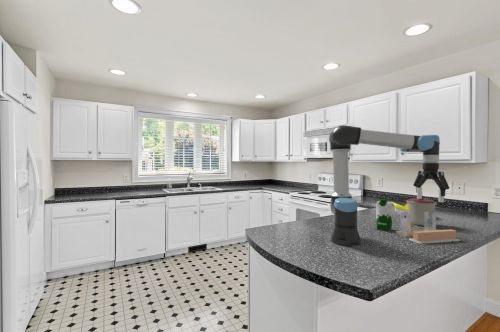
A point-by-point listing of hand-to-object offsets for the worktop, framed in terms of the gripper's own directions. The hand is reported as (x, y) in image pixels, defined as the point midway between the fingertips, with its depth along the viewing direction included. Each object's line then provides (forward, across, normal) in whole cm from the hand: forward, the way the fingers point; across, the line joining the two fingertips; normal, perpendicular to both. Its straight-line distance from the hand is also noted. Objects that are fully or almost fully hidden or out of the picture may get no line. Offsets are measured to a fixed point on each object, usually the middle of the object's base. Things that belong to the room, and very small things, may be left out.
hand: (429, 200), depth 142 cm
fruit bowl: (+22, +62, -49) cm, 82 cm away
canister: (+22, +34, -30) cm, 51 cm away
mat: (+22, -1, -3) cm, 23 cm away
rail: (+22, -1, -3) cm, 22 cm away
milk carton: (+23, +26, +7) cm, 35 cm away
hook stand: (+22, +12, -5) cm, 26 cm away
